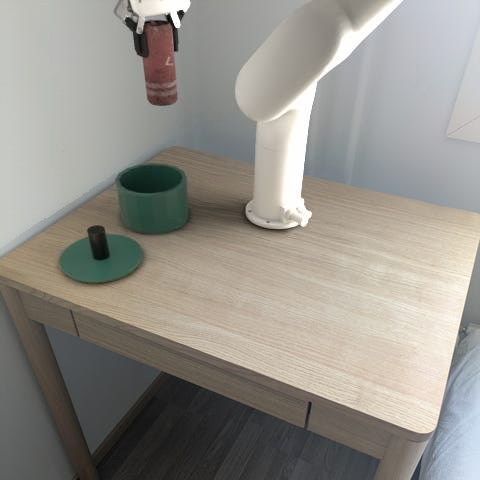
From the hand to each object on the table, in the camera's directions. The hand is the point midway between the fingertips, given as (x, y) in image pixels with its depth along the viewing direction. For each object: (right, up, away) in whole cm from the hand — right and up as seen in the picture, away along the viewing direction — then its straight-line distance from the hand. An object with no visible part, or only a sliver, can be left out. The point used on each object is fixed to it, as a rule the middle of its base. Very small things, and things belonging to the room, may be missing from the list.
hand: (157, 52), depth 94 cm
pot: (-2, -30, +8) cm, 31 cm away
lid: (-9, -40, -5) cm, 41 cm away
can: (0, -7, +6) cm, 9 cm away
